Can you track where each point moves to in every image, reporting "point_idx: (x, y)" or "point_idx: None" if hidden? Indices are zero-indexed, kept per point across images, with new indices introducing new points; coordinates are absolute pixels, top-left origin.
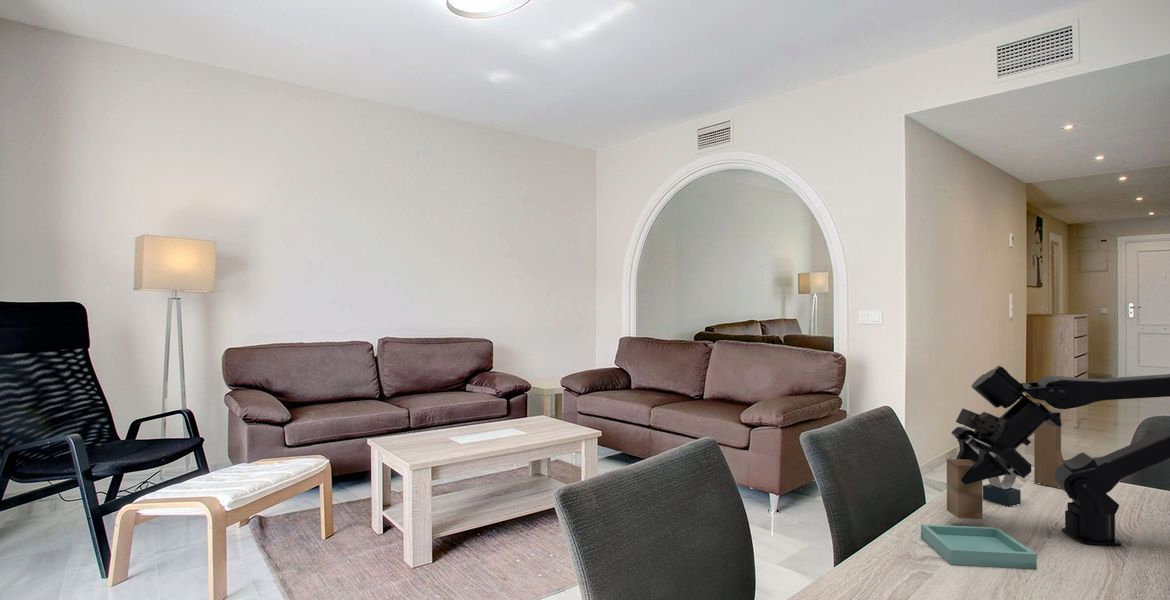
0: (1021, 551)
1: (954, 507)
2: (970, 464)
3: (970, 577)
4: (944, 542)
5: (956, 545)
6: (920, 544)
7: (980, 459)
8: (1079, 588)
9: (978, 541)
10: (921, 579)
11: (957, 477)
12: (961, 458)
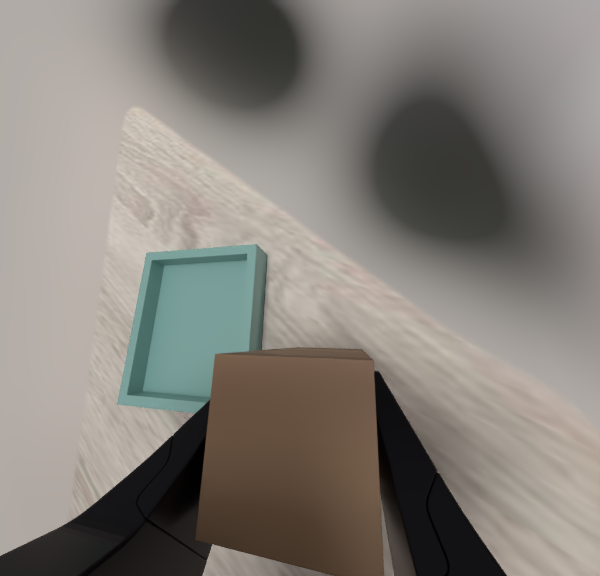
0: (153, 394)
1: (313, 348)
2: (229, 461)
3: (132, 272)
4: (173, 254)
5: (204, 291)
6: (236, 243)
7: (99, 529)
8: (87, 420)
9: (221, 345)
10: (134, 207)
11: (255, 351)
12: (396, 506)
